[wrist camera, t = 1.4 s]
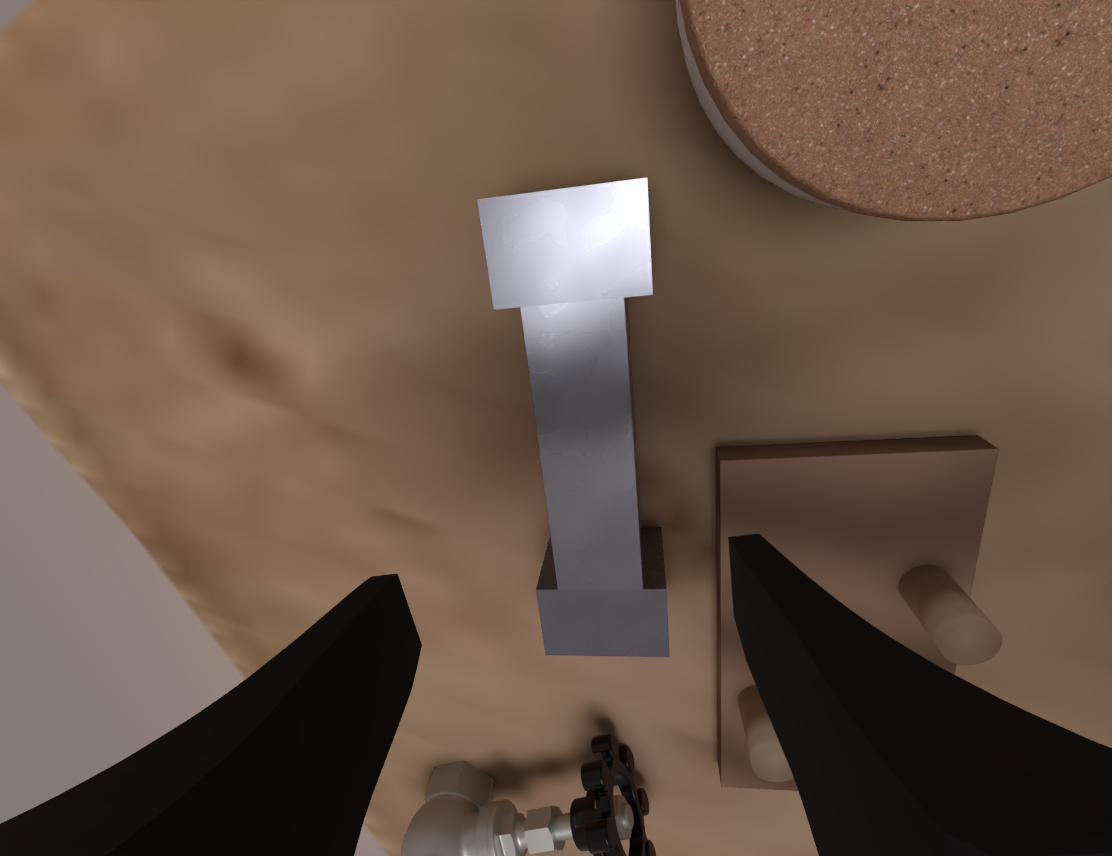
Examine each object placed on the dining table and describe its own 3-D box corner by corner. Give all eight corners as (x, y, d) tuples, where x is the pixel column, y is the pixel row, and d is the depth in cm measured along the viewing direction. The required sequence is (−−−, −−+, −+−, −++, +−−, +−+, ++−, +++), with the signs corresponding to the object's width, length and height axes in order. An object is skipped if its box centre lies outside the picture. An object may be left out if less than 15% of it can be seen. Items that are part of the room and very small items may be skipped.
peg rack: (715, 447, 21) (734, 501, 17) (977, 435, 19) (1064, 491, 15) (717, 762, 27) (731, 856, 23) (917, 772, 25) (968, 873, 21)
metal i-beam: (508, 202, 18) (477, 199, 15) (644, 185, 18) (647, 177, 14) (559, 587, 24) (545, 655, 20) (663, 587, 23) (669, 656, 20)
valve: (460, 827, 31) (654, 792, 28) (418, 974, 25) (660, 951, 22) (403, 748, 30) (605, 701, 26) (343, 887, 24) (596, 848, 20)
